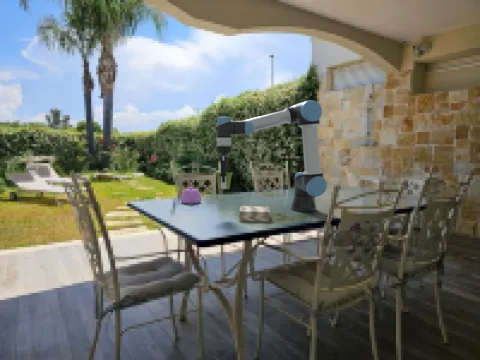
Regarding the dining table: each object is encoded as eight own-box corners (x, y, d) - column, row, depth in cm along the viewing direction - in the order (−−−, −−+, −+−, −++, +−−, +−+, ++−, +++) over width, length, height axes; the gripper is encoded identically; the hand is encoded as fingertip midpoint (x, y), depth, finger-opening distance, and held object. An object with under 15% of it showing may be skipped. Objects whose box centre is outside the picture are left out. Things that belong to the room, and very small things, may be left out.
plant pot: (230, 190, 192) (230, 173, 191) (213, 189, 194) (213, 173, 193) (234, 188, 201) (234, 172, 201) (218, 187, 203) (217, 172, 202)
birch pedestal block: (268, 215, 204) (268, 206, 203) (270, 221, 188) (270, 211, 187) (239, 214, 204) (240, 206, 204) (239, 220, 188) (239, 211, 188)
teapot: (200, 199, 257) (200, 185, 255) (202, 204, 237) (202, 188, 236) (180, 200, 254) (180, 185, 253) (181, 205, 234) (180, 188, 233)
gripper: (218, 145, 206) (218, 185, 208) (215, 145, 185) (215, 189, 187) (231, 145, 206) (231, 185, 208) (230, 145, 185) (230, 189, 187)
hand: (224, 187), depth 198 cm, fingers closed on plant pot, 8 cm apart
